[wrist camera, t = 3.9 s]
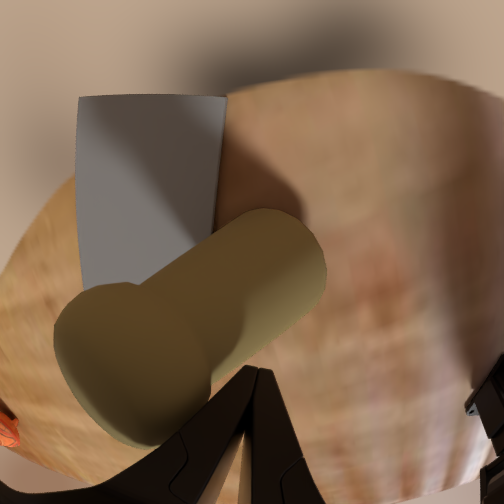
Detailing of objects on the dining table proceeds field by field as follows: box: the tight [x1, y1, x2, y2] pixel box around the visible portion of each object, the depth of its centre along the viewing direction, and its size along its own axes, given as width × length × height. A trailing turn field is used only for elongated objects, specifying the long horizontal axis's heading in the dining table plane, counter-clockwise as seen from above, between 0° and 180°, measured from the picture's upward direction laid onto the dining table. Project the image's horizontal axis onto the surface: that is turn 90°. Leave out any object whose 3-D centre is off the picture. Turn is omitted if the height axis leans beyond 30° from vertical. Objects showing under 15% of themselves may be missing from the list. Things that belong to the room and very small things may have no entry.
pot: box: [0, 412, 20, 447], centre depth 34 cm, size 8×8×7 cm
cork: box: [54, 208, 327, 450], centre depth 12 cm, size 6×6×11 cm
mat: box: [75, 94, 228, 291], centre depth 18 cm, size 9×16×1 cm, turn 173°
